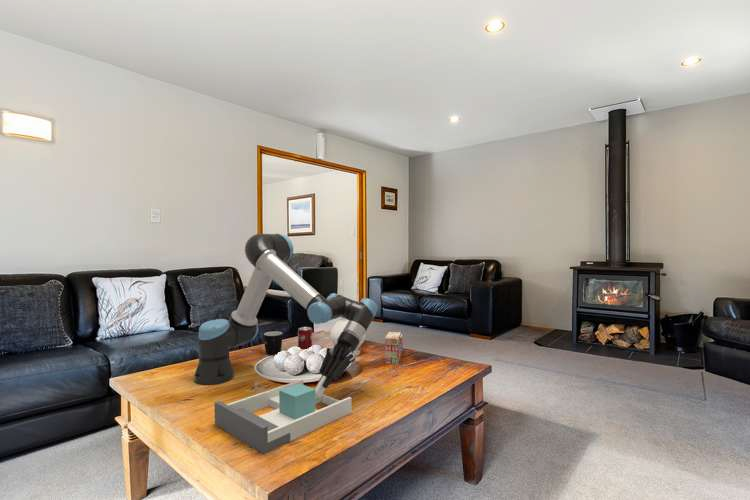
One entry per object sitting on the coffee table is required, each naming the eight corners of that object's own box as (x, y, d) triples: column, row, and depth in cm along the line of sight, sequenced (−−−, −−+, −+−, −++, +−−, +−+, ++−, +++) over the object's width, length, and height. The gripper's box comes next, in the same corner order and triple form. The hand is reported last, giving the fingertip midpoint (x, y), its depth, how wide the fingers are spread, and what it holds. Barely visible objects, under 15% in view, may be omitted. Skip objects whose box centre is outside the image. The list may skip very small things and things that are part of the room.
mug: (263, 351, 203) (263, 332, 203) (281, 350, 206) (281, 330, 206) (264, 358, 192) (264, 337, 191) (283, 356, 194) (283, 336, 194)
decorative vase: (355, 360, 190) (355, 307, 189) (323, 355, 197) (323, 305, 196) (371, 350, 206) (371, 302, 205) (340, 346, 213) (340, 300, 212)
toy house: (390, 351, 205) (390, 327, 205) (402, 351, 204) (403, 328, 204) (384, 364, 184) (384, 337, 184) (398, 364, 183) (398, 338, 183)
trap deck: (301, 392, 149) (301, 374, 149) (351, 412, 132) (351, 391, 132) (214, 424, 123) (214, 402, 123) (262, 454, 106) (262, 428, 106)
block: (299, 404, 132) (299, 383, 132) (315, 411, 127) (315, 389, 127) (279, 412, 126) (279, 390, 126) (295, 419, 121) (295, 396, 121)
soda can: (300, 354, 199) (300, 330, 198) (296, 350, 205) (296, 327, 205) (314, 352, 202) (314, 329, 202) (309, 349, 208) (309, 326, 208)
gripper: (369, 345, 142) (335, 406, 130) (343, 339, 151) (309, 395, 139) (359, 333, 138) (323, 394, 126) (333, 327, 147) (297, 385, 134)
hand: (316, 395), depth 132 cm, fingers closed
